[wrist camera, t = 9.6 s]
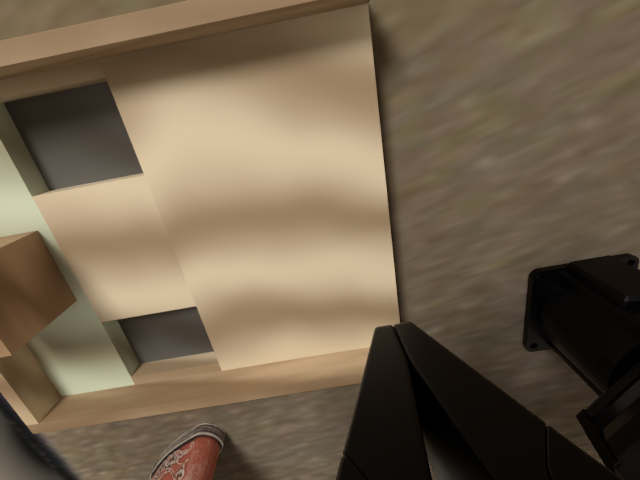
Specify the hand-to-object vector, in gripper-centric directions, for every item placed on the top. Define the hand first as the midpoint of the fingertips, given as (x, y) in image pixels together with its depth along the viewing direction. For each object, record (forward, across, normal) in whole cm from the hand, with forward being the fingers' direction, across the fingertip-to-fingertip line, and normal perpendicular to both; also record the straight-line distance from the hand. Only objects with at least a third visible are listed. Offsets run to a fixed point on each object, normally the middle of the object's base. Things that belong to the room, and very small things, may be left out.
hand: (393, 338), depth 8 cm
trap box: (+12, +10, 0) cm, 15 cm away
